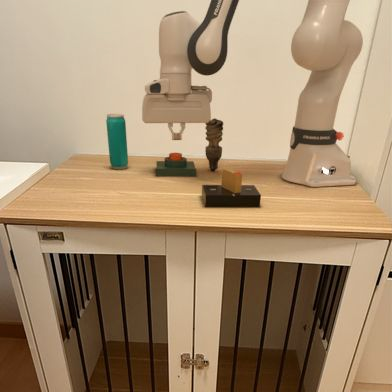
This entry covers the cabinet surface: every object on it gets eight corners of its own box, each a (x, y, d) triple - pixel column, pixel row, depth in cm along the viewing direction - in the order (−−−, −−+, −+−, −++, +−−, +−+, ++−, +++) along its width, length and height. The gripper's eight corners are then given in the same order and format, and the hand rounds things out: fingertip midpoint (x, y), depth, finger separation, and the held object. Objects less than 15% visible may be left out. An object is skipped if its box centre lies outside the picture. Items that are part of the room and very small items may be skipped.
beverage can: (126, 165, 135) (122, 113, 126) (130, 169, 131) (126, 116, 122) (108, 166, 134) (104, 113, 125) (112, 170, 129) (107, 116, 120)
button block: (193, 168, 134) (193, 155, 132) (195, 176, 126) (196, 162, 124) (156, 168, 133) (156, 154, 131) (156, 176, 125) (156, 162, 123)
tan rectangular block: (221, 186, 107) (222, 167, 104) (227, 186, 108) (228, 166, 105) (234, 193, 103) (236, 173, 100) (240, 192, 103) (242, 172, 101)
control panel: (252, 195, 112) (253, 183, 110) (260, 208, 103) (261, 195, 101) (201, 195, 111) (201, 183, 109) (205, 208, 102) (206, 195, 100)
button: (181, 158, 129) (181, 152, 128) (182, 161, 126) (182, 155, 125) (169, 158, 129) (168, 152, 128) (169, 161, 126) (169, 155, 125)
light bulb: (201, 171, 131) (203, 118, 122) (206, 168, 135) (208, 116, 126) (218, 173, 130) (221, 120, 121) (222, 170, 134) (226, 117, 125)
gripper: (210, 85, 119) (209, 137, 127) (140, 84, 117) (143, 138, 125) (213, 86, 114) (212, 141, 122) (140, 86, 112) (143, 142, 120)
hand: (176, 139), depth 124 cm, fingers closed
